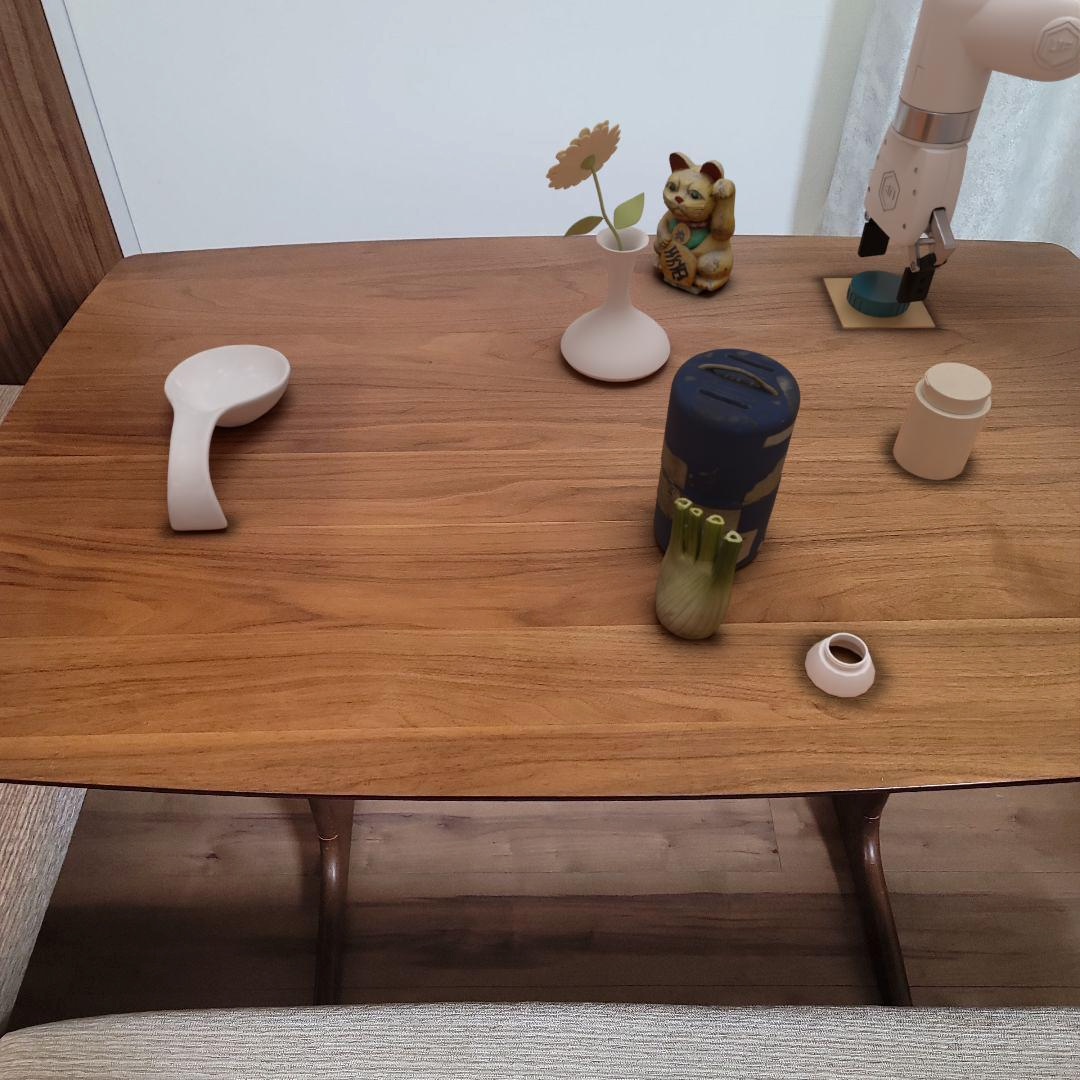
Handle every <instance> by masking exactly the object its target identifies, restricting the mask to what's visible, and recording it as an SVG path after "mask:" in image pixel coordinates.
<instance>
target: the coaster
mask: <svg viewBox="0 0 1080 1080" xmlns="http://www.w3.org/2000/svg"><path fill="white" fill-rule="evenodd" d="M852 278H853V277H823V279H822V281H823V283H824V285H825V288H826V291H827V293H828V295H829V298H830V300H831V303H832V306H833V307H834V310H835V312H836V314H837V317H838V319H839V322H840V324H841V327H842V329H843V330H844V329H845V330H847V329H848V330H849V329H853V330H854V329H855V330H856V329H857V330H858V329H935V328H936V325H935V323H934V321H933V319H932V317H931V315H930V314H929V311H928V310H927V308H926V306H925V304H924V301H917V302H910V305H909V307H908V309H907V310H906V311H905V312H904V313H903V314H900V315H898V316H894V317H875V316H870V315H867V314H864V313H862V312H859V311H858V310H856V309H855V308H853V307H852V306H851V305H850V304H849V303H848V300H847V291H848V288H849V284H850V283H851V280H852Z"/></svg>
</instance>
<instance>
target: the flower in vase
mask: <svg viewBox="0 0 1080 1080" xmlns="http://www.w3.org/2000/svg"><path fill="white" fill-rule="evenodd" d="M609 125H610V120H609V119H605V120H604V121H602V122H598V123H596V124H595V125H594V126H593V129H592V131H591V130H590V127H587V126H585V127H583V128H581V130H580V131H579V133H578V137H574V138H573V139H572V140H570V142H569V146H567V148H566V149H565V148H564V149H561V150H559V151H558V152H557V153H556V154H555V159H556V160H557V161H558V163H556V164H554V165H552V166H551V167H549V169H548V171H547V173H546V175H545V178H546V179H549V181H550V182H549V183H548V185H547V187H548V188H549V189H552V188H554V191H555V190H556V191H559V190H561V189H562V188H563V190H568V189H570V188H571V187H576V186H578V185H579V184H581V183H582V182H583V181H586V180H587V179H589V178H590V177H591V176H592V178H593V182H594V184H595V188H596V193H597V197H598V202H599V207H600V211H601V214H602V216H600V215H588V216H585V217H583V218H581V219H579V220H577V221H576V222H574V223H573V224H572V225H571V226H570V227H569V228H568V229H567V231H566V232H565V234H564V235H563V239H564V238H567V237H572V236H573V237H574V236H583V235H587V234H590V233H591V232H592V231H593V230H594V229H596V228H597V227H598V226H599V225H600V224H601V223H602V221H603V220H604V221H605V223H606V224H607V226H608V227H605V228H603V229H601V230H599V231H598V232H597V234H596V236H595V241H596V243H597V245H598V246H599V247H600V249H601V251H602V252H603V254H604V257H605V260H606V266H607V267H606V268H607V291H606V292H607V294H606V298H605V301H604V302H603V304H602V305H600V306H599V307H597V308H594V309H592V310H590V311H588V312H586V313H584V314H582V315H580V316H579V317H578V318H577V319H575V320H574V321H573V322H571V323H569V326H567V328H566V329H565V330H564V333H563V336H562V337H561V340H560V351H561V354H562V356H563V357H564V359H565V361H567V363H568V365H570V366H571V368H573V369H574V370H576V371H577V372H579V373H580V374H582V375H584V376H586V377H589V378H592V379H595V380H599V381H604V382H605V381H606V382H614V383H616V382H617V383H618V382H619V383H620V382H630V381H636V380H640V379H642V378H645V377H648V376H650V375H652V374H653V373H655V372H657V371H658V370H659V369H661V367H662V366H663V365H664V364H665V363H666V362H667V360H668V358H669V357H670V354H671V344H670V340H669V337H668V335H667V332H666V331H665V329H663V327H662V326H661V325H660V324H659V323H658V322H657V321H656V320H654V319H653V318H652V317H651V316H649V315H648V314H646V313H645V312H643V311H641V310H639V309H637V308H636V307H634V305H633V303H632V300H631V285H632V278H633V272H634V270H635V269H634V268H635V265H636V262H637V259H638V257H639V256H640V255H641V253H642V251H643V250H644V249H645V248H646V247H647V246H648V245H649V242H650V237H649V235H648V234H647V233H646V232H645V231H644V230H642V229H640V228H638V227H634V225H636V224H638V223H639V222H640V220H641V219H642V216H643V213H644V208H645V192H641V193H639V194H636V196H634V197H632V198H630V199H628V200H625V201H623V202H622V203H620V204H619V205H617V206H616V207H615V209H614V211H613V224H612V222H611V221H610V219H609V217H608V215H607V213H606V209H605V205H604V200H603V199H604V198H603V195H602V191H601V187H600V183H599V179H598V176H597V172H599V171H600V170H601V169H602V168H603V167H604V164H605V163H607V162H608V161H609V160H610V158H611V157H612V155H614V153H616V151H617V150H618V147H619V146H618V143H619V141H620V140H621V136H620V134H621V133H622V132H621V129H620V124H619V123H616V124H614V125H613V126H612V127H611V128H610V126H609Z"/></svg>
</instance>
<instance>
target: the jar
mask: <svg viewBox="0 0 1080 1080" xmlns="http://www.w3.org/2000/svg"><path fill="white" fill-rule="evenodd" d="M992 389H993V385H992V382H991V380H990V378H989V377H988V376H987V375H986V374H985V373H984V372H983V371H981V370H979V369H977V368H975V367H973V366H971V365H968V364H965V363H961V362H960V363H959V362H948V361H947V362H940V363H937V364H935V365H933V366H931V367H929V368H928V369H927V370H926V371H925V373H924V375H923V378H921V379H920V380H919V381H918V382H917V383H916V385H915V387H914V390H913V393H912V395H911V398H910V401H909V404H908V406H907V410H906V412H905V414H904V417H903V420H902V423H901V426H900V428H899V431H898V434H897V437H896V439H895V441H894V445H893V449H892V452H893V458H894V459H895V461H896V462H897V464H898V465H899V466H900V467H902V469H904V470H905V471H907V472H908V473H910V474H912V475H915V476H917V477H919V478H924V479H926V480H933V481H942V480H950V479H952V478H955V477H956V476H959V475H960V474H961V473H962V472H963V471H964V469H965V466H966V464H967V462H968V459H969V458H970V455H971V453H972V450H973V449H974V446H975V444H976V442H977V439H978V437H979V434H980V433H981V430H982V428H983V427H984V423H985V422H986V419H987V416H988V415H989V412H990V410H991V407H992V399H991V395H992Z"/></svg>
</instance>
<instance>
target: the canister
mask: <svg viewBox="0 0 1080 1080" xmlns="http://www.w3.org/2000/svg"><path fill="white" fill-rule="evenodd" d="M800 406H801V389H800V386H799V383H798V381H797V379H796V377H795V376H794V375H793V373H791V371H790V370H789V369H788V368H787V367H786V366H784V365H783V363H780V362H779V361H778V360H775V359H774V358H772V357H770V356H768V355H766V354H763V353H760V352H756V351H752V350H748V349H743V348H714V349H710V350H707V351H703V352H699V353H697V354H696V355H693V356H692V357H690V358H689V359H687V360H686V361H684V362H683V363H682V364H681V366H679V368H678V369H677V370H676V372H675V374H674V376H673V378H672V381H671V385H670V390H669V399H668V405H667V412H666V420H665V427H664V434H663V439H662V440H663V441H662V448H661V453H660V469H659V477H658V483H657V489H656V500H655V508H654V514H653V531H654V535H655V538H656V540H657V543H658V545H659V546H660V547H661V549H662V550H663V551H664V553H666V551H667V549H668V546H669V543H670V538H671V530H672V524H673V511H674V501H675V500H676V499H677V498H687V499H688V500H689V501H692V502H693V507H692V508H699V509H701V510H702V511H703V524H702V535H703V531H704V525H705V521H706V519H707V518H709V517H710V516H712V515H718V516H721V517H722V518H723V520H724V522H725V524H724V529H723V536H722V540H721V545H722V542H723V539H724V537H725V536H726V535H727V534H728V533H729V532H730V531H731V530H732V531H735V532H737V533H738V534H740V537H741V538H742V541H743V542H742V546H741V549H740V552H739V556H738V559H737V562H736V566H735V570H736V569H738V568H741V567H743V566H745V565H746V564H748V563H749V562H751V561H752V560H753V559H754V558H755V557H756V556H757V555H758V553H759V552H760V551H761V549H762V548H763V545H764V542H765V538H766V533H767V529H768V526H769V522H770V519H771V516H772V513H773V509H774V507H775V503H776V500H777V495H778V491H779V489H780V484H781V480H782V473H783V470H784V466H785V461H786V458H787V454H788V451H789V447H790V443H791V439H792V435H793V431H794V429H795V425H796V421H797V417H798V414H799V411H800ZM720 548H721V546H720Z"/></svg>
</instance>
